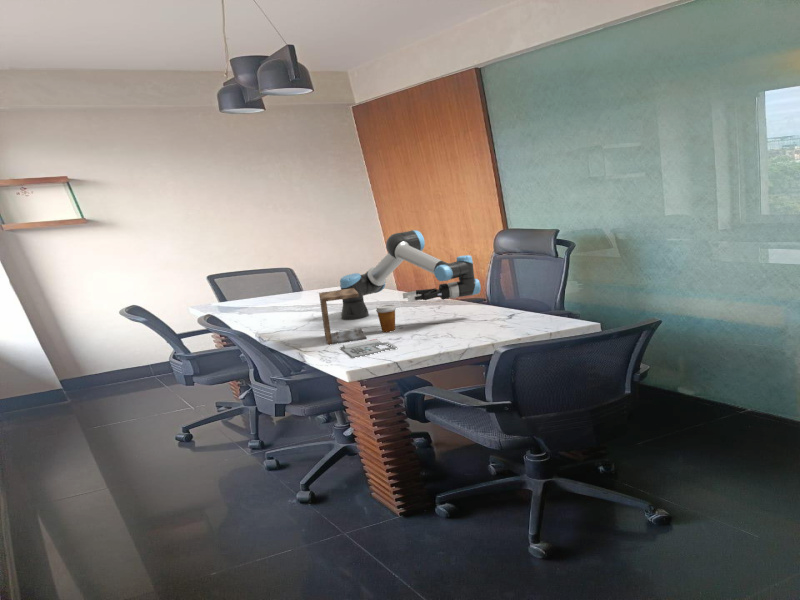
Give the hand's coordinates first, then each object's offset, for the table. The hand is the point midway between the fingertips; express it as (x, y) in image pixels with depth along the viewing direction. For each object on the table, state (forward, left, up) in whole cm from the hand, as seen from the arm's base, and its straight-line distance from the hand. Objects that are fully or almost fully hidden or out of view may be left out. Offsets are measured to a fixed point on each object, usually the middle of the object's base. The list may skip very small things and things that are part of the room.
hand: (405, 297), depth 323 cm
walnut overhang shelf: (+29, -11, -15) cm, 34 cm away
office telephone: (+33, +21, -16) cm, 42 cm away
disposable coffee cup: (+9, -4, -15) cm, 18 cm away
